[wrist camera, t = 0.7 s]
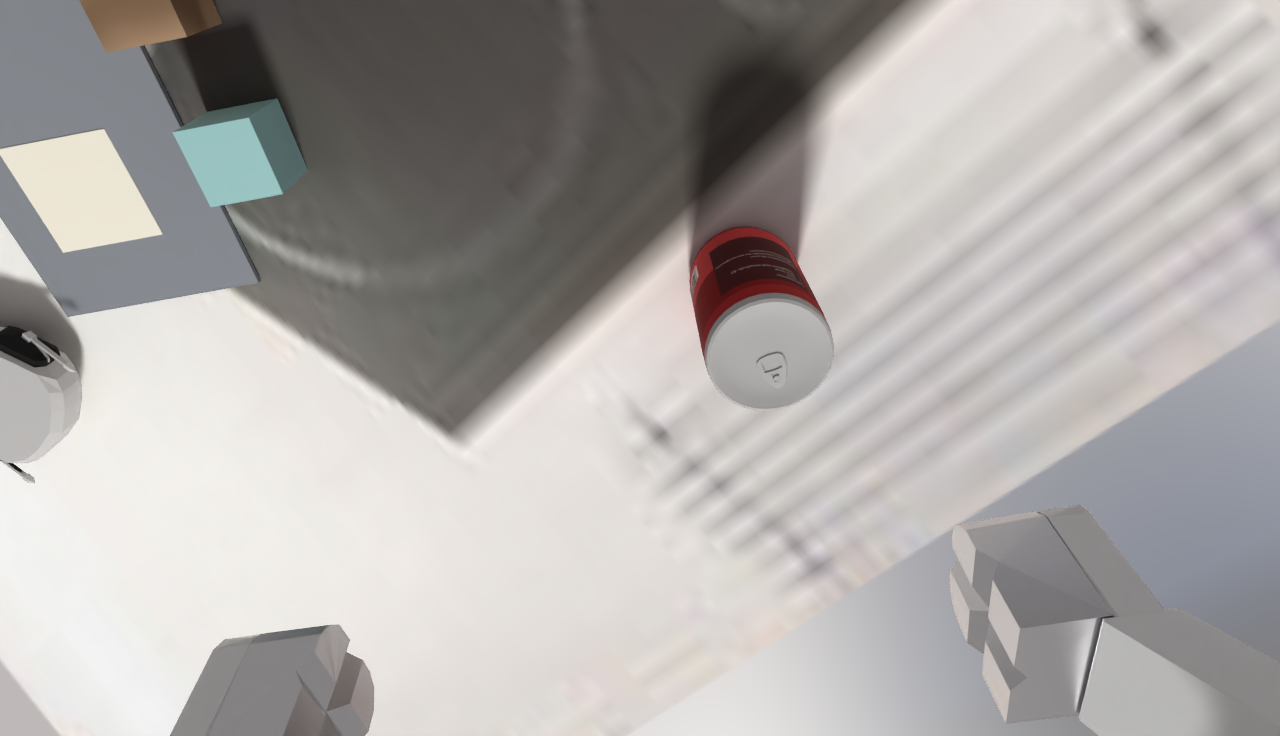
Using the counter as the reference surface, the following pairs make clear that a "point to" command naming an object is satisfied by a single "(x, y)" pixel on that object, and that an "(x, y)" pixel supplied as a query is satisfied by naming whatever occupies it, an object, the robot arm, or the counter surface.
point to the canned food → (758, 320)
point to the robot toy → (34, 397)
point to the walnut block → (148, 20)
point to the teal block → (242, 152)
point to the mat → (101, 170)
